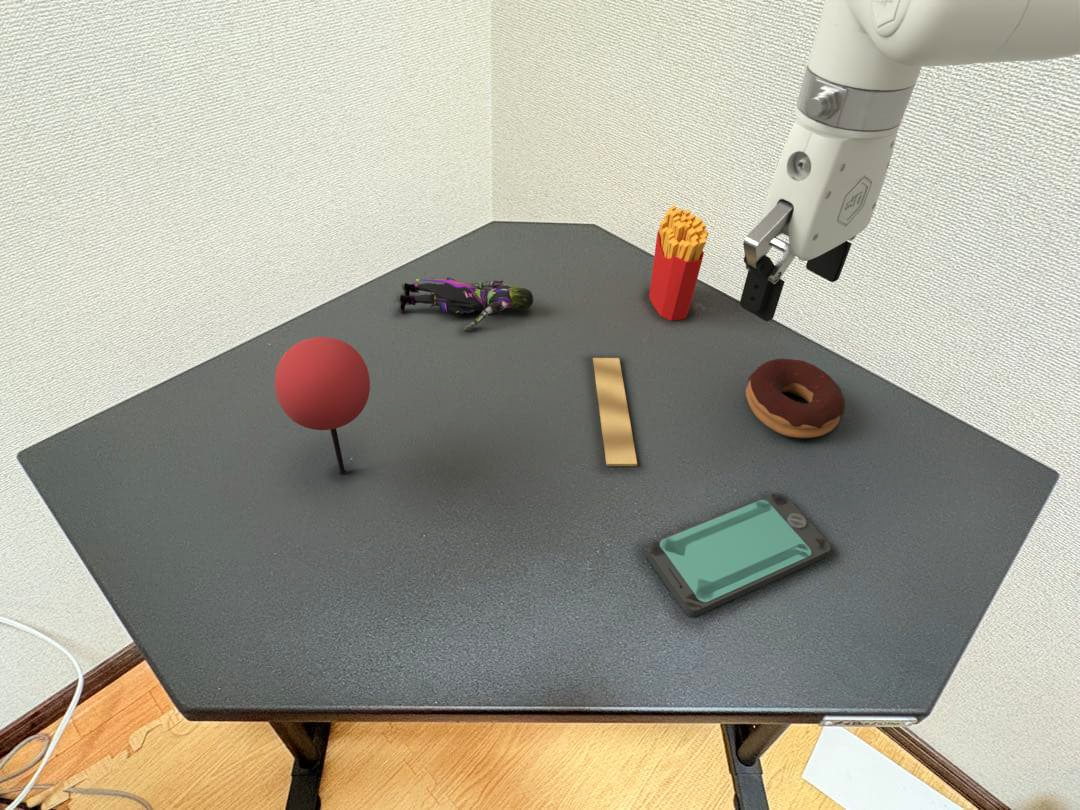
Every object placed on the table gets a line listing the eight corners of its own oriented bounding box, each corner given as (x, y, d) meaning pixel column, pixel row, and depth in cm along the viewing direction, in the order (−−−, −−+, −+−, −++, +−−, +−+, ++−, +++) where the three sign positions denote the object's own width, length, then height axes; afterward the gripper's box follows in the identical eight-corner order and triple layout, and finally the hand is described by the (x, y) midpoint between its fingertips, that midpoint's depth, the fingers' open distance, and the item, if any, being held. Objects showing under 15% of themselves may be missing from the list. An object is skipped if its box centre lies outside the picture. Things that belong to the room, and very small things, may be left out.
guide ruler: (636, 466, 71) (637, 463, 70) (606, 466, 71) (606, 463, 70) (619, 360, 82) (619, 357, 82) (592, 360, 82) (593, 357, 82)
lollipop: (386, 496, 67) (365, 373, 57) (300, 508, 66) (263, 384, 55) (381, 437, 72) (361, 315, 62) (302, 447, 71) (268, 324, 61)
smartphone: (834, 547, 63) (692, 611, 58) (830, 555, 64) (689, 619, 59) (779, 487, 68) (643, 542, 63) (776, 496, 69) (641, 550, 64)
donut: (846, 449, 73) (860, 421, 71) (748, 439, 74) (758, 411, 71) (828, 383, 81) (839, 355, 78) (739, 374, 81) (747, 347, 78)
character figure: (395, 330, 85) (531, 334, 85) (390, 304, 83) (530, 308, 82) (410, 285, 92) (536, 288, 91) (406, 259, 90) (535, 263, 89)
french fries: (642, 288, 93) (656, 202, 85) (671, 285, 94) (687, 199, 85) (667, 328, 87) (684, 240, 79) (697, 324, 88) (718, 236, 79)
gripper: (828, 145, 47) (763, 351, 59) (958, 89, 55) (879, 279, 67) (737, 108, 51) (693, 308, 63) (871, 61, 59) (810, 245, 71)
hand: (789, 293), depth 65 cm, fingers open, 9 cm apart
